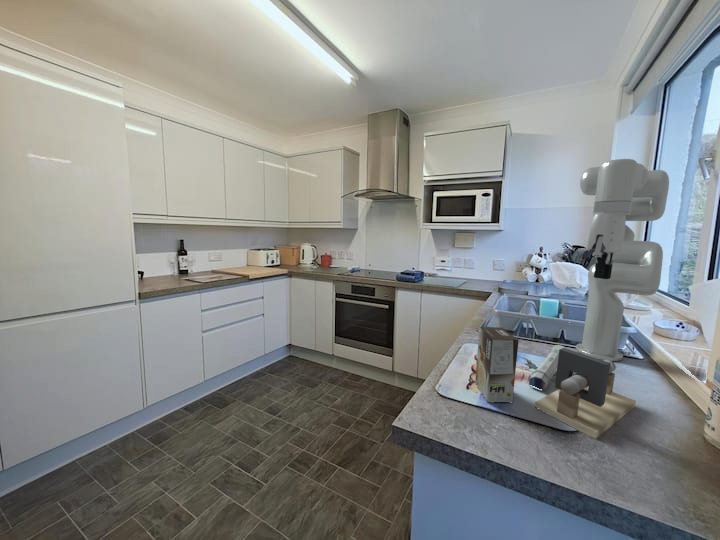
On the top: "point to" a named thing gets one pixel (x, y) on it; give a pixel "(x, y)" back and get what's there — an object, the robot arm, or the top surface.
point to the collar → (587, 367)
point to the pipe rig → (586, 405)
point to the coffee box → (496, 364)
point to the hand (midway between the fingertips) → (601, 278)
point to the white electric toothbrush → (546, 369)
